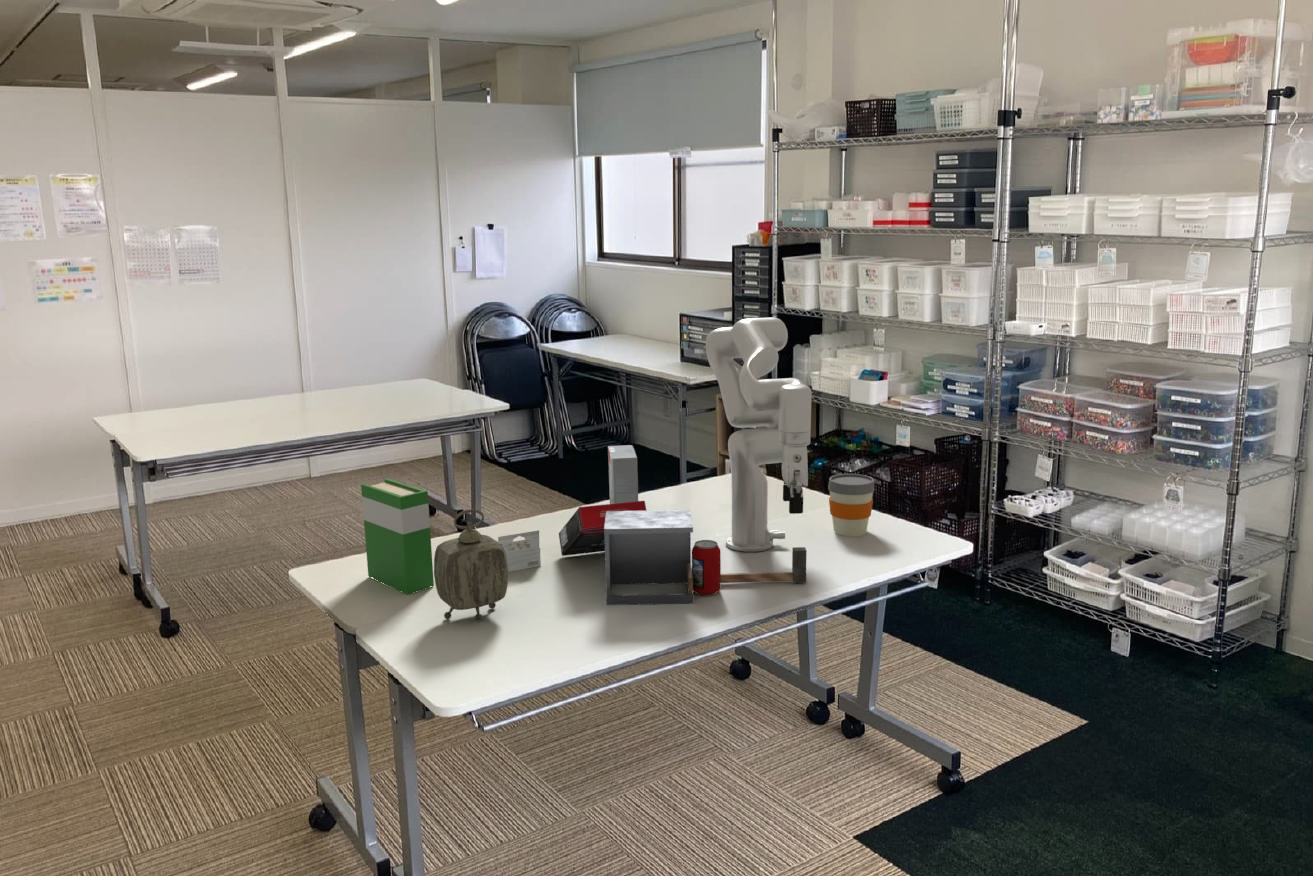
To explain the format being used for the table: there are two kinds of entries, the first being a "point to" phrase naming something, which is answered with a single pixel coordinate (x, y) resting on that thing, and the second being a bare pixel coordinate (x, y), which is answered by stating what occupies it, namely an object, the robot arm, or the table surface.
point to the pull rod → (794, 576)
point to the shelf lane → (647, 553)
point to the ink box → (521, 550)
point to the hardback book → (398, 535)
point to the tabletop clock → (470, 570)
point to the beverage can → (706, 567)
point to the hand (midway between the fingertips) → (792, 506)
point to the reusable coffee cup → (850, 503)
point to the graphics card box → (590, 527)
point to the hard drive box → (622, 474)
